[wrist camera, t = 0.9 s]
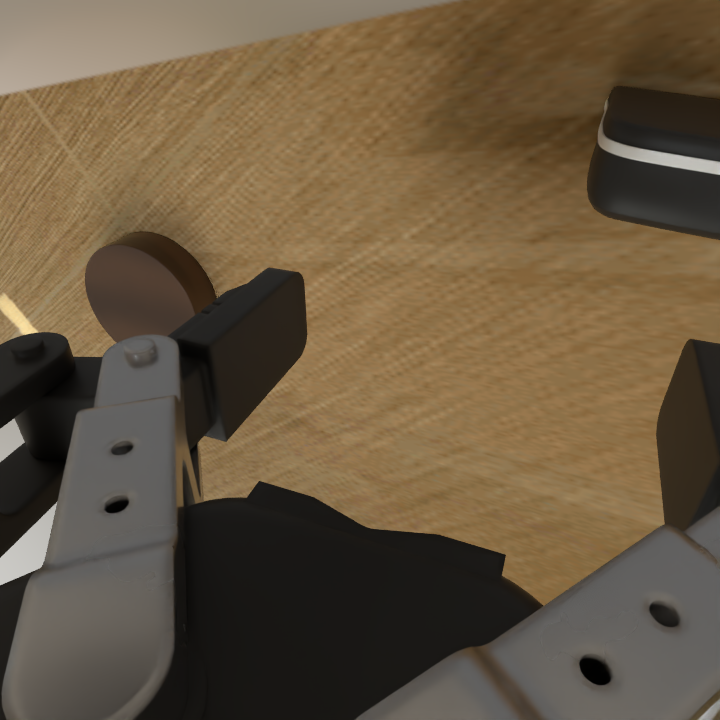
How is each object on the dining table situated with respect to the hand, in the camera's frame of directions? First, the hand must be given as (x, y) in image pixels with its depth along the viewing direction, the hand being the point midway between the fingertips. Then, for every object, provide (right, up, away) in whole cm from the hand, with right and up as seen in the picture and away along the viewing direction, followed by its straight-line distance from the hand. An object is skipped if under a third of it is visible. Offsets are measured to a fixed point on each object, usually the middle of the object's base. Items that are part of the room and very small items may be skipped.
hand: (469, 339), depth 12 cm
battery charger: (+14, +12, +17) cm, 25 cm away
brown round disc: (-19, +5, +36) cm, 41 cm away
